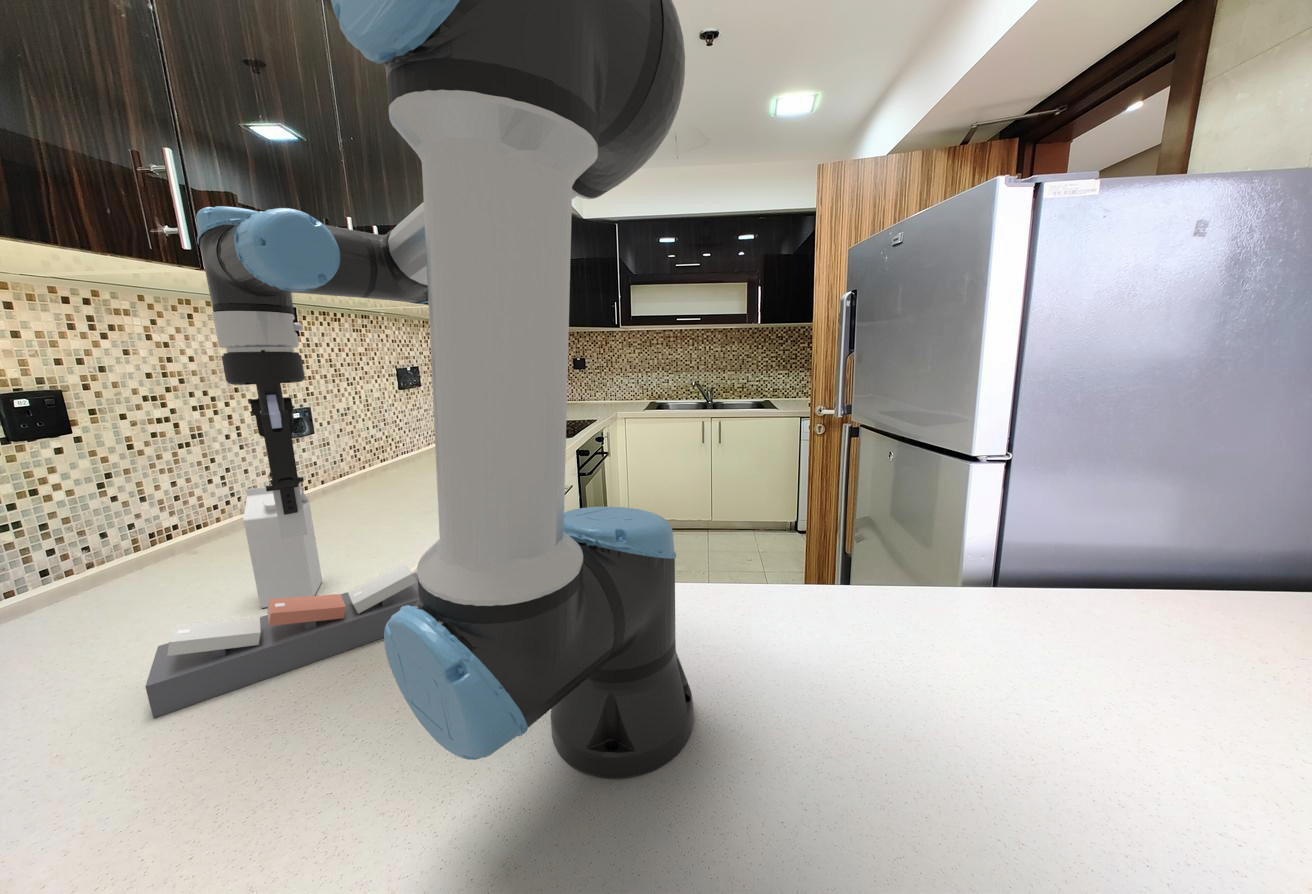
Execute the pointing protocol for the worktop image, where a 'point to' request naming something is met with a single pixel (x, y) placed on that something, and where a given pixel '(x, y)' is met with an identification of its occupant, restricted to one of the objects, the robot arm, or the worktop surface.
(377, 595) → the grey rocker
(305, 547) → the milk carton
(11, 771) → the worktop surface
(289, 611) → the rocker red
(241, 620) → the grey rocker
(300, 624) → the dark grey switch base
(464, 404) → the robot arm
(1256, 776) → the worktop surface
